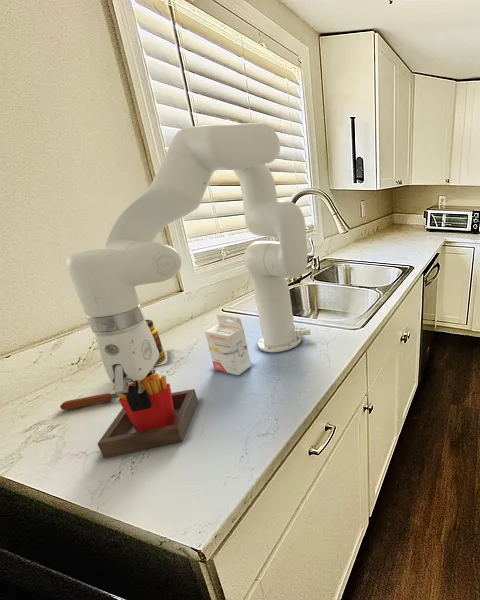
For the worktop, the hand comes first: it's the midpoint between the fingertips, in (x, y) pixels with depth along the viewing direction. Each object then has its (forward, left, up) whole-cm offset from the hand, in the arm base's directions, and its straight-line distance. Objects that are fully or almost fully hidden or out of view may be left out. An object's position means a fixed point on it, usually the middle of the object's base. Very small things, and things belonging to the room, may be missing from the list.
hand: (146, 400), depth 65 cm
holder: (0, 0, -7) cm, 7 cm away
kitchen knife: (+14, -13, -7) cm, 20 cm away
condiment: (+11, -30, -7) cm, 33 cm away
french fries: (0, 0, -7) cm, 7 cm away
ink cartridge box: (-12, -19, -7) cm, 24 cm away
